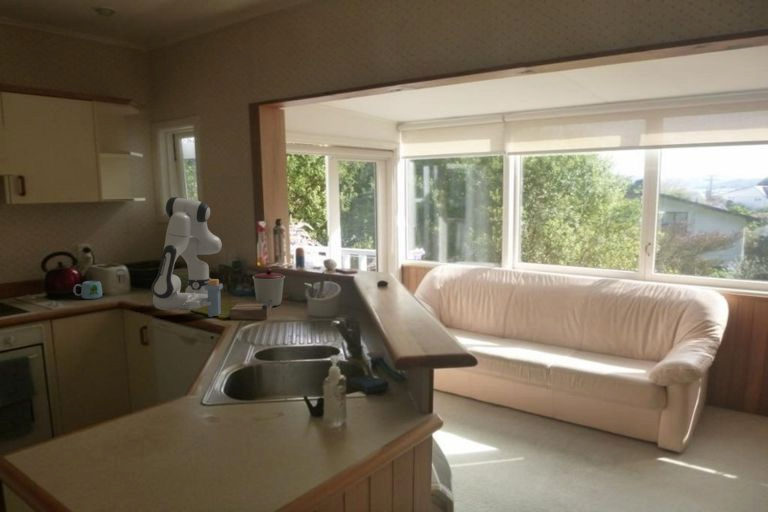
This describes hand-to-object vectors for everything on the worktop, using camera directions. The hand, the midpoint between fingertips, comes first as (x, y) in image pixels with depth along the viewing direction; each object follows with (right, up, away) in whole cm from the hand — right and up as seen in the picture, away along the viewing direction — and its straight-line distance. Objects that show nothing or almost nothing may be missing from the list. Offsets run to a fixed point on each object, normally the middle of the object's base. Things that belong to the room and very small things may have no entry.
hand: (214, 301), depth 259 cm
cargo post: (0, -7, +1) cm, 8 cm away
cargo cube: (0, +7, -1) cm, 7 cm away
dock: (+19, -8, +2) cm, 21 cm away
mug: (-89, -2, +42) cm, 98 cm away
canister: (+22, -5, +29) cm, 36 cm away
